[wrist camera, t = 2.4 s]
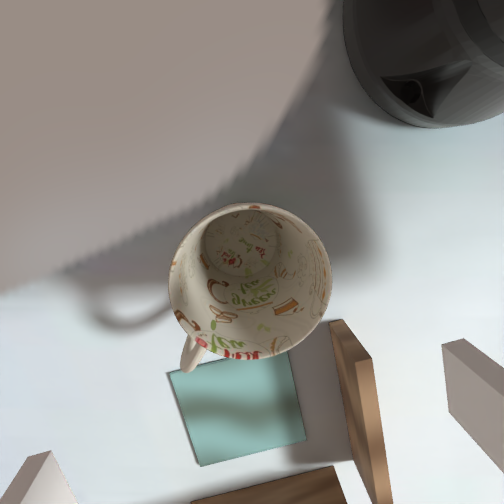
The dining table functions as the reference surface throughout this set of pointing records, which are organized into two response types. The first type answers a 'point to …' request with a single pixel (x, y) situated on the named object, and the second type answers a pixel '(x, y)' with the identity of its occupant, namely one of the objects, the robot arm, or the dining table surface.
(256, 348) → the mug
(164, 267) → the dining table surface
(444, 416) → the dining table surface
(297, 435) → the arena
